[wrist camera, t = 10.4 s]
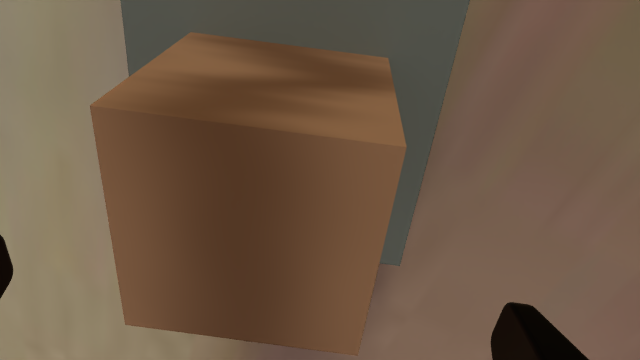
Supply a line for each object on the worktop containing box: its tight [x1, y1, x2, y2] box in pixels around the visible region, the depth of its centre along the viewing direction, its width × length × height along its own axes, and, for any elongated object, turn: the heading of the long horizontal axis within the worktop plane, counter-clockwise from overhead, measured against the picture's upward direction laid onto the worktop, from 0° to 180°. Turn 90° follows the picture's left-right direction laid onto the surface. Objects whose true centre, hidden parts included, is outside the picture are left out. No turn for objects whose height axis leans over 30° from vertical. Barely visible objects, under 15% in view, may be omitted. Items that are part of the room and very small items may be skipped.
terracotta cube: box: [90, 32, 407, 356], centre depth 13 cm, size 6×6×6 cm
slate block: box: [121, 0, 470, 266], centre depth 17 cm, size 10×10×4 cm
